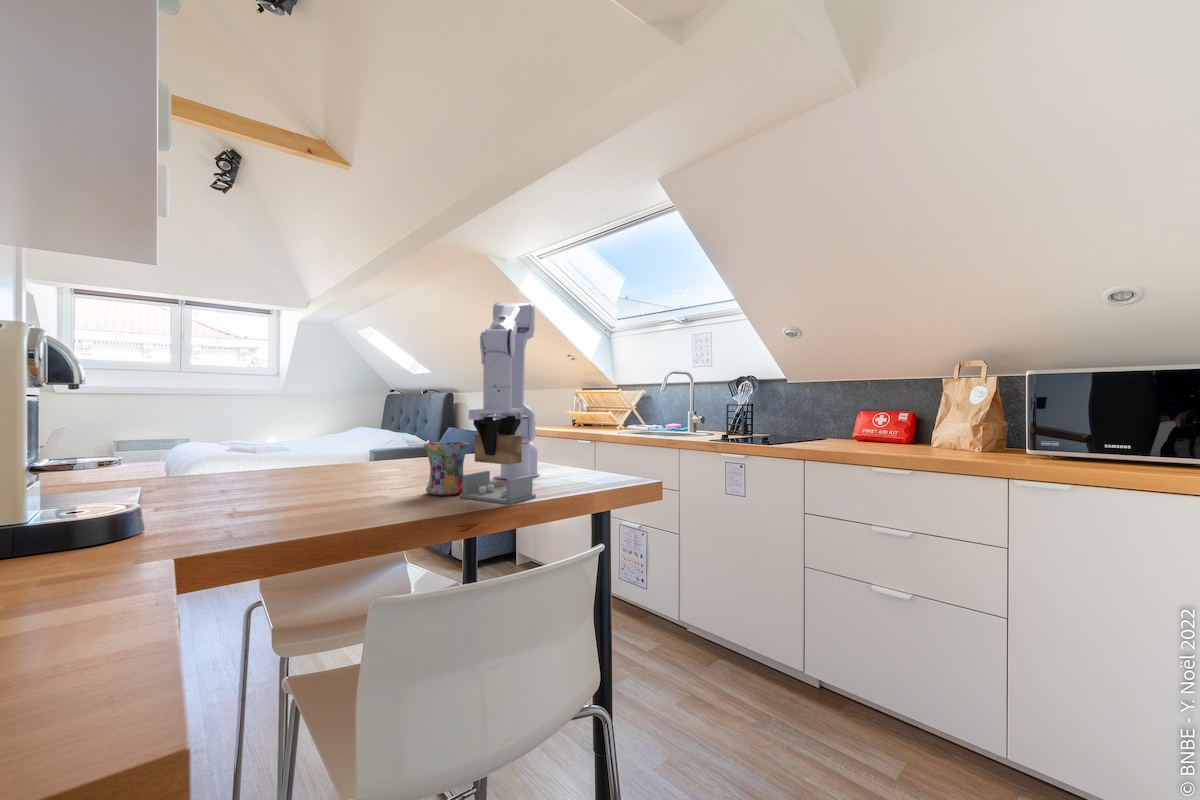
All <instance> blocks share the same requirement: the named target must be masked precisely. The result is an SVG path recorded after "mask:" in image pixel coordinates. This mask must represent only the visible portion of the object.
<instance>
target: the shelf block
mask: <svg viewBox="0 0 1200 800" xmlns="http://www.w3.org/2000/svg"><path fill="white" fill-rule="evenodd" d="M474 462H475V463H485V464H486V463H487V464H496V465H497V464H498V465H501V464H507V465H510V464H516V463H521V462H522V435H503V434H497V440H496V452H495V455H485V452H484V448H483V444H482V440H481V438H480V435H479V434H474Z"/></svg>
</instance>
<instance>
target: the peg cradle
mask: <svg viewBox="0 0 1200 800" xmlns="http://www.w3.org/2000/svg"><path fill="white" fill-rule="evenodd" d="M490 472H491V471H490V470H484V471H478V472H472V473H468V474H463V492H462V493H459V495H458V498H462V499H468V500H478V501H484V502H492V503H499V504H505V503H506V505H512V504H517V503H520V502H519V501H521V502H524V501H528V500H531V499H535V498H536V497H537V494H536V493H533V477H532V475H527V476H522V477H517V478H513V479H505V481H506V482H505V488H503V489H496V488H494V487H495V485H494V484H490V483H491V482H490V481H491V480H490V478H491V477H490V476H491V473H490ZM516 502H517V503H516Z"/></svg>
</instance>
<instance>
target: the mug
mask: <svg viewBox="0 0 1200 800" xmlns="http://www.w3.org/2000/svg"><path fill="white" fill-rule="evenodd" d="M469 446H470V443H469V442H467V441H436V442H435V441H434V442H427V443H424V444H423V447H424V449H425V452H426V454H427V457H428V458H427V459H428V462H429V468H430V469H429V470H430V471H429V473H430V474H429V479H428V484H427V486H426V488H425V491H426V493H428V494H431V495H435V496H453V495H458V494H463V475H464V462H465V458H466V453H467V451H468V449H469Z"/></svg>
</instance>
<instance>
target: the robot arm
mask: <svg viewBox="0 0 1200 800" xmlns="http://www.w3.org/2000/svg"><path fill="white" fill-rule="evenodd" d="M535 315H536V311H535V304H533V302H530V301H528V302H499V301H497V302H495V303H494V304H493V307H492V322H491V324H490V326H489V328H485V329H484V331H481V332H480V337H479V348H480V355H481V356H480V357H481V365H483V371H482V372H483V374H482V375H483V378H482V379H483V382H482V383H483V385H482V386H483V395H482V396H483V398H482V399H483V401H482V402H483V405H482V406H483V407H482V408H481V409H480V408H478V409H468V420H470V421H471V420H473V426H474V427H475V429H476V431H477V432H478V435H480V438H481V440H482V444H483V448H484V452H485V455H495V452H496V440H497V434H503V435H522V462H521V463H516V464H510V465H507V464H500V474H496V475H493V476H492V478H493V479H501V480H508V479H513V478H517V477H522V476H527V475H532V478H535V477H539V476H541V473H538V449H537V447H536V445H535V444H534V443H533V442H532V441H534V439H535V438H536V417H535V415H536V414H535V412H534V410H533V408H531V407H530V406H528V405H527V404H526V403H525V373H526V371H525V369H526V365H525V362H526V360H525V359H526V345H527V342H528V340H530V339H532V338H534V333H535V325H536V324H535V323H536V322H535V320H536V316H535Z"/></svg>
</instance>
